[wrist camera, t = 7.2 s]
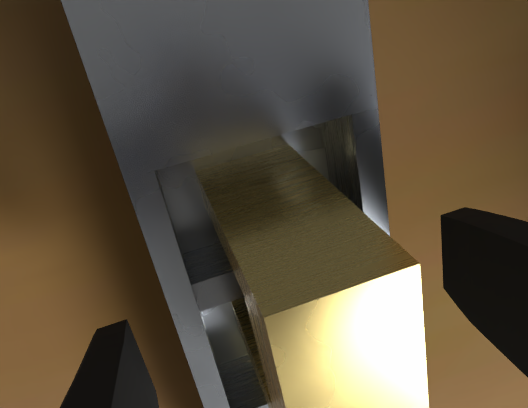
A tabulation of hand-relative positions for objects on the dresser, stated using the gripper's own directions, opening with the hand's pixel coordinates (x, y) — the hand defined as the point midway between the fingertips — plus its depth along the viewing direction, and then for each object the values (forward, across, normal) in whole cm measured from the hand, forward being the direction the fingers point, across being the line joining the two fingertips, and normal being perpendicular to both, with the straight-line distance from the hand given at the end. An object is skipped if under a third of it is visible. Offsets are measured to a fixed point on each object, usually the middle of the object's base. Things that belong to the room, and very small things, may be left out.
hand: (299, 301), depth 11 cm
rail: (+4, 0, 0) cm, 4 cm away
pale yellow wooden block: (+3, 0, 0) cm, 3 cm away
